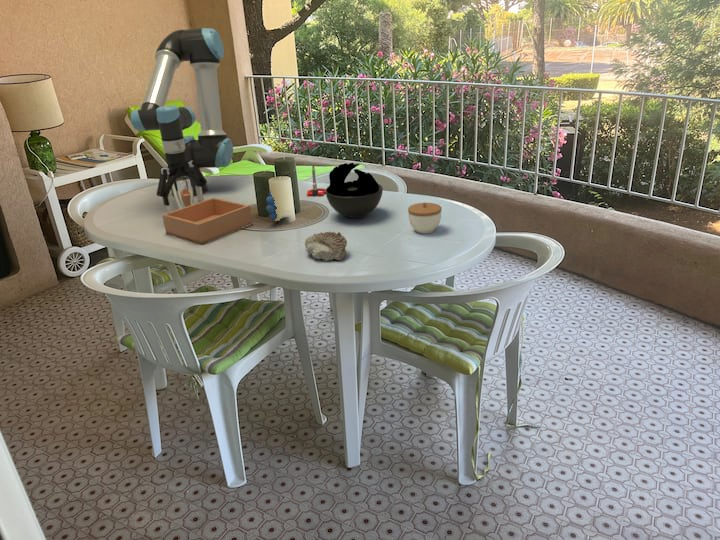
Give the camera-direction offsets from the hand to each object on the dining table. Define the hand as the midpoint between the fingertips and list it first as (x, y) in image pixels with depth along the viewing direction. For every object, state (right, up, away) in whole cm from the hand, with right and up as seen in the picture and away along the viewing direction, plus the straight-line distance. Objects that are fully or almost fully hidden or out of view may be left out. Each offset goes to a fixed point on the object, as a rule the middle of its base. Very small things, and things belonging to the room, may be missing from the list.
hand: (186, 208), depth 206 cm
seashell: (+55, -19, -39) cm, 70 cm away
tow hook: (+47, +8, +21) cm, 52 cm away
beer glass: (0, -3, +2) cm, 4 cm away
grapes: (+36, -6, -9) cm, 38 cm away
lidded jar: (+86, -10, -25) cm, 90 cm away
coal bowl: (+63, -4, -8) cm, 64 cm away
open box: (+12, -9, -12) cm, 19 cm away
